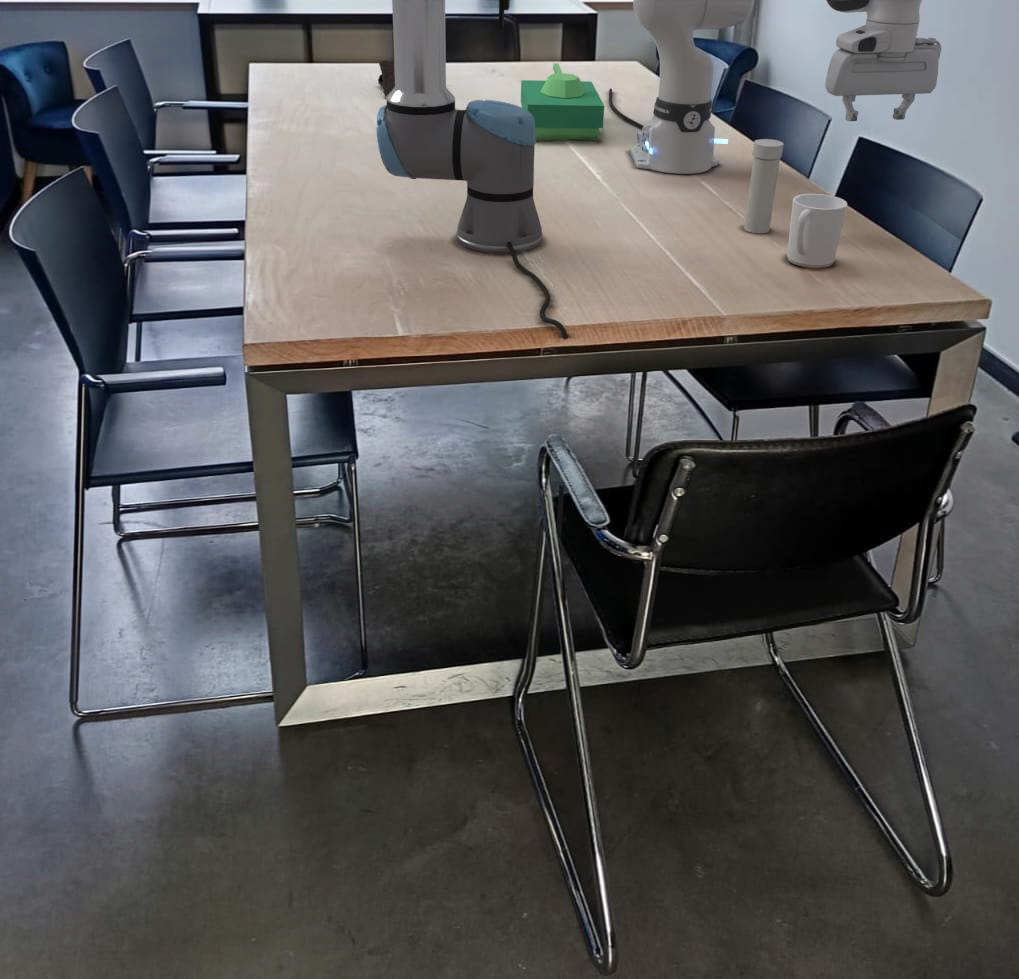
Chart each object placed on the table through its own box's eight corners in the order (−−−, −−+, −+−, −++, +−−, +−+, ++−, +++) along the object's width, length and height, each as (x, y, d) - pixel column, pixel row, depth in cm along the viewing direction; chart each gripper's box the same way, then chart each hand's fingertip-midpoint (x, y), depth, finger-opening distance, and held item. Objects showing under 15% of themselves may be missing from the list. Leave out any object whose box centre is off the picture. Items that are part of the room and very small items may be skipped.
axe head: (443, 87, 294) (392, 77, 287) (436, 115, 299) (385, 106, 292) (421, 62, 307) (371, 52, 300) (414, 89, 311) (365, 80, 304)
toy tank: (589, 59, 279) (605, 88, 249) (586, 109, 285) (601, 143, 256) (520, 58, 278) (528, 87, 248) (518, 108, 284) (526, 142, 255)
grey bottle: (747, 233, 202) (758, 148, 194) (741, 225, 206) (752, 141, 198) (772, 233, 202) (784, 148, 194) (765, 225, 206) (778, 141, 198)
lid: (756, 159, 195) (758, 146, 193) (749, 151, 199) (751, 138, 198) (785, 159, 195) (787, 146, 194) (777, 152, 199) (779, 139, 198)
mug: (798, 248, 195) (807, 190, 190) (845, 259, 190) (856, 201, 185) (769, 263, 188) (777, 204, 182) (816, 276, 183) (827, 215, 178)
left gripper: (534, -91, 215) (530, 25, 226) (409, -94, 217) (412, 20, 229) (530, -88, 209) (526, 31, 220) (401, -92, 211) (405, 26, 222)
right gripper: (933, 34, 196) (917, 114, 203) (828, 36, 192) (815, 117, 200) (952, 40, 191) (935, 121, 198) (845, 42, 187) (831, 125, 194)
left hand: (468, 26), depth 224 cm, fingers open, 13 cm apart
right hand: (874, 119), depth 199 cm, fingers open, 8 cm apart
